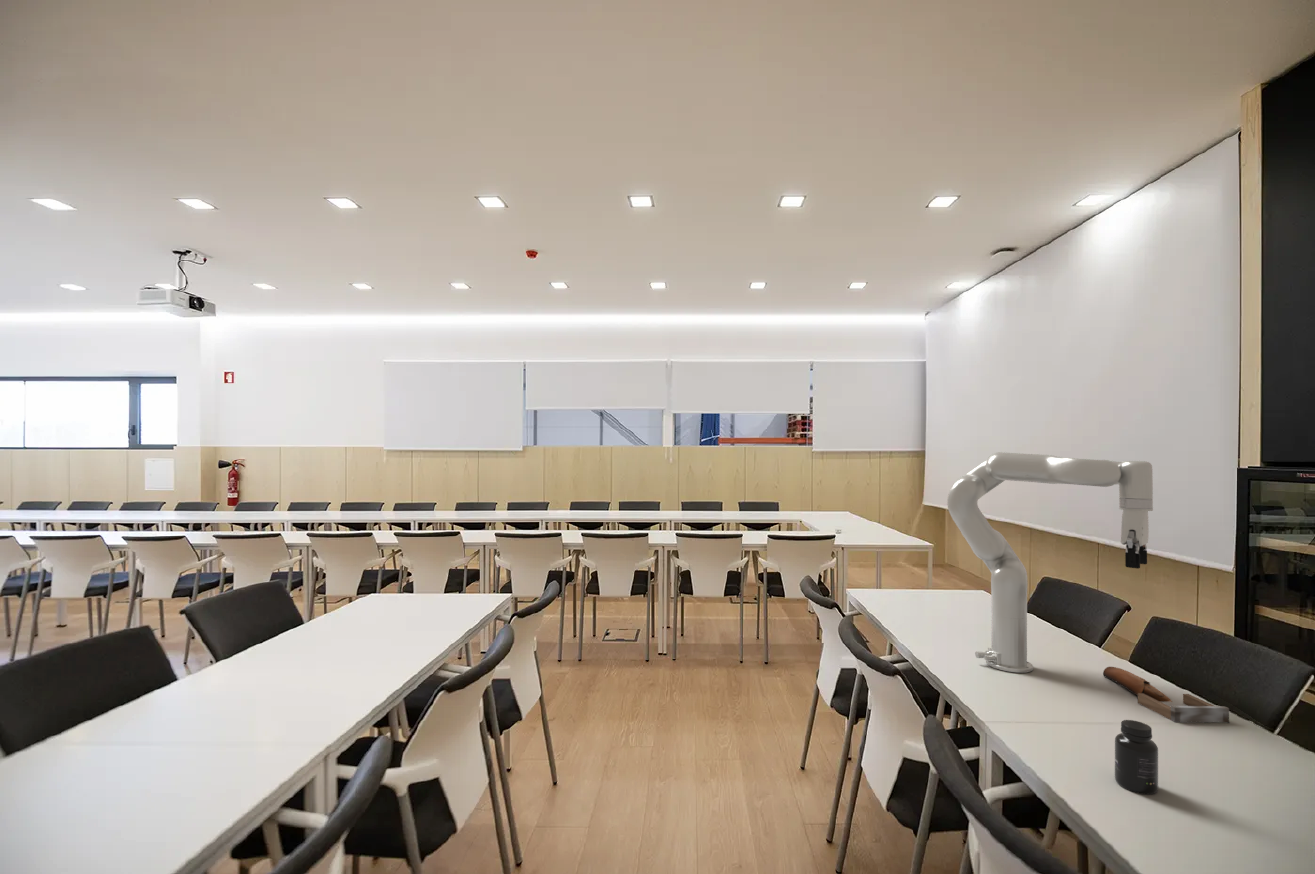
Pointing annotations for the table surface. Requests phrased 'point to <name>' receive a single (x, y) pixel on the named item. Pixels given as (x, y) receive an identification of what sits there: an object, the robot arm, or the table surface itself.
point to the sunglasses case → (1134, 683)
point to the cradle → (1187, 709)
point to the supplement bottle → (1136, 758)
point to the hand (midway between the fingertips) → (1136, 565)
